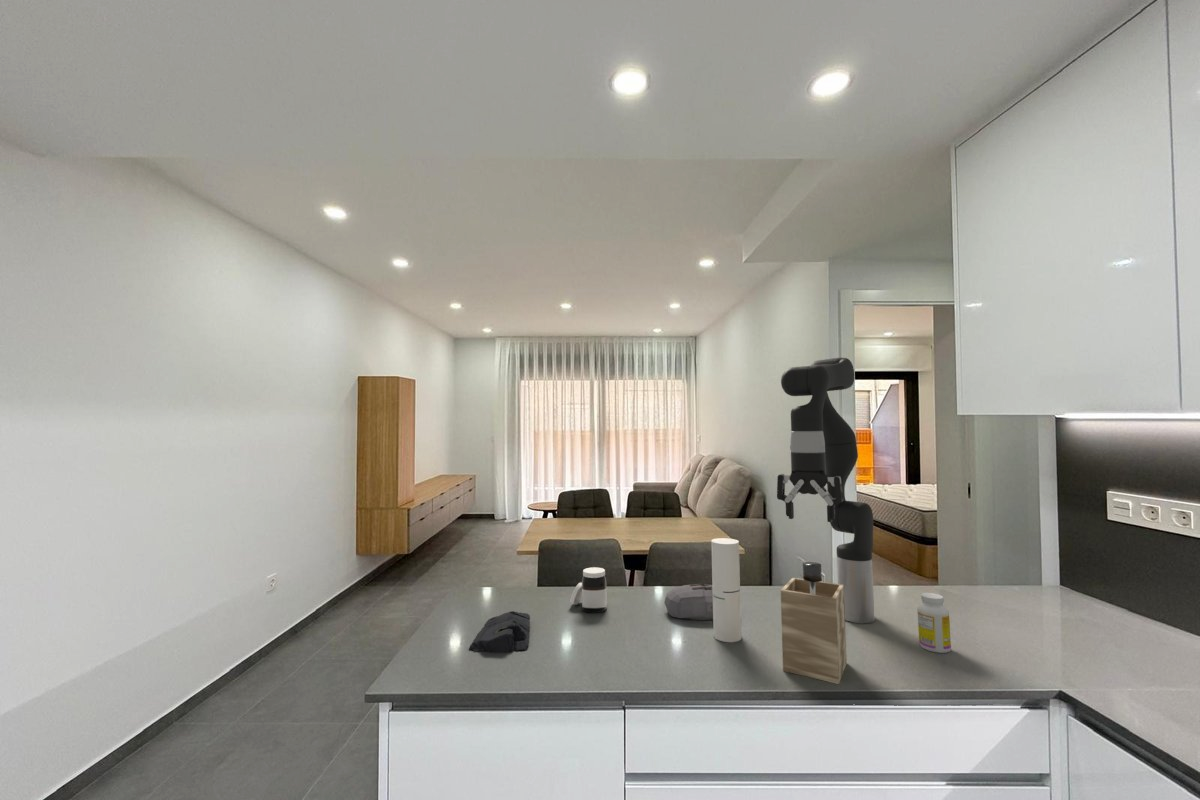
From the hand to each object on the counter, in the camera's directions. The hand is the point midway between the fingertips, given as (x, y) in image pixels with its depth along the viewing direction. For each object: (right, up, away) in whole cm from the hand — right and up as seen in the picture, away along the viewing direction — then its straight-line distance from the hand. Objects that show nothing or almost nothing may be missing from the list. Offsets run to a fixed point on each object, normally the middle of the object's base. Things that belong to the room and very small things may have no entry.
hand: (810, 520), depth 120 cm
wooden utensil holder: (0, -34, -2) cm, 34 cm away
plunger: (+1, -32, -2) cm, 32 cm away
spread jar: (-53, -37, +39) cm, 75 cm away
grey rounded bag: (-20, -36, +34) cm, 53 cm away
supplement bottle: (+34, -34, +7) cm, 49 cm away
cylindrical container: (-15, -35, +16) cm, 41 cm away
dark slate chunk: (-75, -36, +19) cm, 85 cm away
